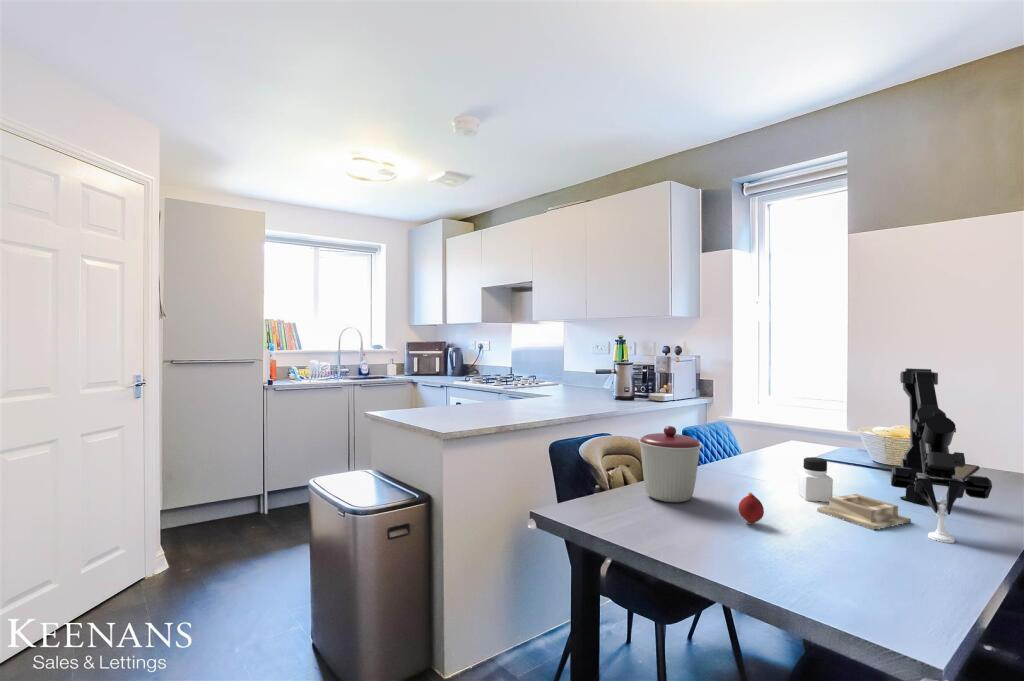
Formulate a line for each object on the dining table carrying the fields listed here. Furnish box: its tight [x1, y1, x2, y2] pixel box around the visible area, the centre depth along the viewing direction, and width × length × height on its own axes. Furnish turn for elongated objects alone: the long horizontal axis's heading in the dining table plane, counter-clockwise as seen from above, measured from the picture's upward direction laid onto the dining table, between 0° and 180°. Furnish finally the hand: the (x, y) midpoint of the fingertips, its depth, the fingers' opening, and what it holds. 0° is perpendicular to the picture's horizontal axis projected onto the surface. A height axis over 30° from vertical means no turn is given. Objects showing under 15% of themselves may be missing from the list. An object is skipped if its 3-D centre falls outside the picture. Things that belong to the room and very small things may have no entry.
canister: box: [638, 425, 703, 503], centre depth 152 cm, size 18×18×21 cm
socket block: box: [816, 493, 912, 530], centre depth 138 cm, size 15×15×4 cm
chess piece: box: [927, 496, 955, 544], centre depth 123 cm, size 5×5×10 cm
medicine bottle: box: [797, 456, 834, 503], centre depth 154 cm, size 7×7×12 cm
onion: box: [738, 491, 765, 525], centre depth 131 cm, size 6×6×8 cm
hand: (942, 513), depth 122 cm, fingers closed on chess piece
